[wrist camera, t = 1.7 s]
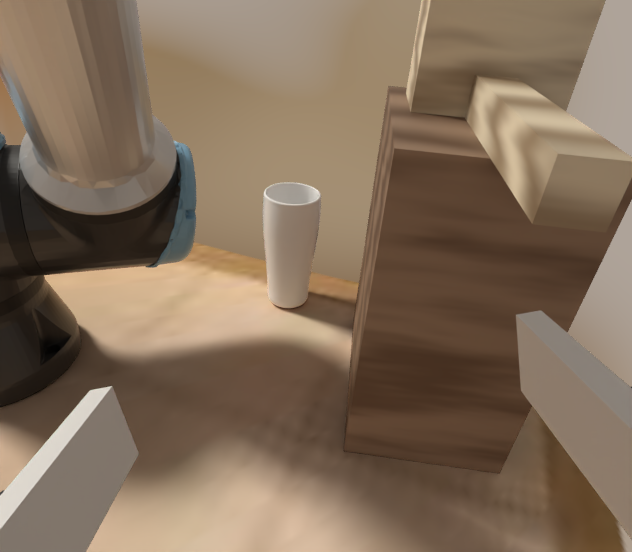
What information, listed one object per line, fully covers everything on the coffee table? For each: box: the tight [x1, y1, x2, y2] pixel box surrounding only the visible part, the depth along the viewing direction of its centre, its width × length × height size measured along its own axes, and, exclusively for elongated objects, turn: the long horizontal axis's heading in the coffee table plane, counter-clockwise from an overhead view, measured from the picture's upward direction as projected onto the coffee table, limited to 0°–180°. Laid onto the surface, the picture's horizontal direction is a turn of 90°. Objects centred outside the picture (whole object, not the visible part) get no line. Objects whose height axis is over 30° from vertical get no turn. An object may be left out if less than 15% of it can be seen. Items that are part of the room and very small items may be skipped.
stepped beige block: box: [406, 0, 632, 232], centre depth 27 cm, size 25×11×9 cm, turn 174°
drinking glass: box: [263, 182, 321, 308], centre depth 57 cm, size 7×7×15 cm
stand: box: [344, 86, 632, 473], centre depth 42 cm, size 19×14×28 cm
